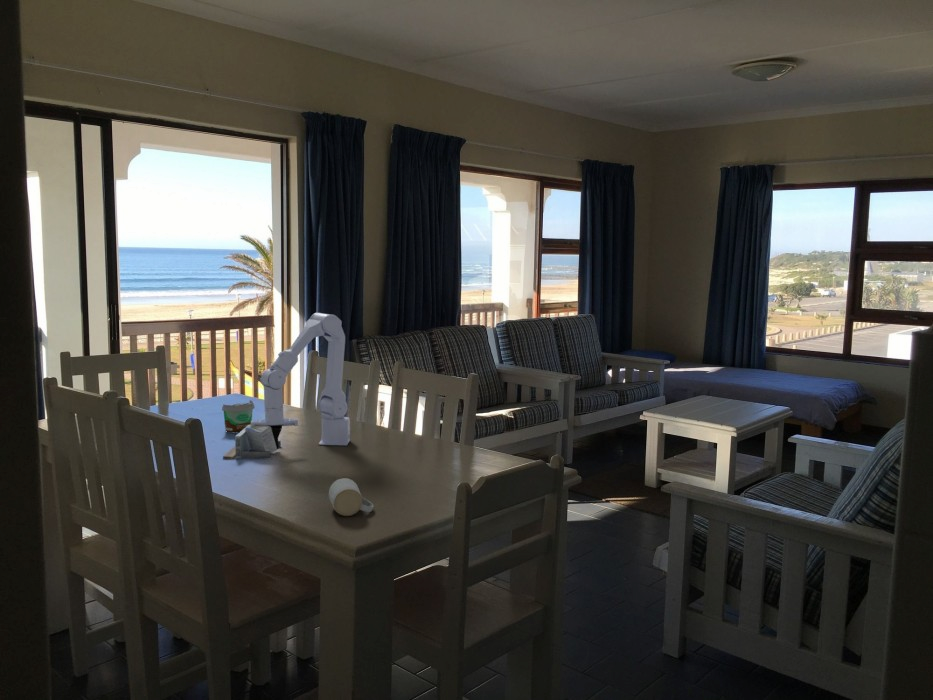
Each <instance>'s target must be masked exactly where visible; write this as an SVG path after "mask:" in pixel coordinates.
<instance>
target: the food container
mask: <svg viewBox="0 0 933 700" xmlns="http://www.w3.org/2000/svg"><path fill="white" fill-rule="evenodd" d="M254 409H255V404H254V401H253V400H251V399H249V402H247V403H246V402H245V403H235V404H229V405H228V404H222V408H221V411H223V417H224V428H225V432H226V431H227V432H226V433H228V432H241V431H242V430H243V429H244V428H246V427H247V426H248V425H251V421H253V410H254Z"/></svg>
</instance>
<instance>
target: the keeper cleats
mask: <svg viewBox="0 0 933 700" xmlns="http://www.w3.org/2000/svg"><path fill="white" fill-rule="evenodd" d="M278 443H279V448H281V447H280V446H281V444H282V441H281V440H278ZM265 458H270V459H272V454H271V451H251V450H249V451H241V458H240V459H265Z"/></svg>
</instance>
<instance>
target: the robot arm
mask: <svg viewBox="0 0 933 700" xmlns="http://www.w3.org/2000/svg"><path fill="white" fill-rule="evenodd" d="M342 321H343V320H341V319H340V318H339V317H338V316H337V315H335V314H329V313H322V312H315V313H313V314H312V315H311V316H310V317H309V319H308V320H307V321H305V324H304V325H305V326H304V327H303V329H302V330H301V332H300V333H299V334H298V336H297V337H296V339H295V340H294V342H293V343H292V345H291V346H290V348H288V349H283V350H282V352H281V351H280V352H279V353H278V354H277V355H278V356H277V358H276V359H275V361H274V362H273V363H272V364H270V365H269V368H267V369H265V370H264V371H263V372H262V373H261V377H260V378H259V382H260V384H261V385H262V386H263V398H264V399H263V400H264V419H259V420H252V421H251V427H253V426H255V425H266V426H270V427H271V429H272V433H273V436H274V440H275V444H276V447H277V450H279V448H280V447H279V443H278V441H279V437H280V434H281V432H282V429H283V427H293V426H294V427H298V426H299V419H298V418H284V399H283V397H284V396H283V395H284V394H283V386H285V384H286V381H287V376H288V375H289V374H290V372H291V371H292V370H293V368H294V367H295V366H296V365H297V363H299V362H298V361H299V357H298V356H299V355H300V354H301V352H302V351H303V350H304V349H305V348H306V347H307V346H308V345H309V344H310V342H312V340H314V338H318V337H323V338H325V340H326V341H327V342H328V343H327V344H328V345H327V358H326V373H325V387H324V389H323V390H321V393H320V398H319V400H318V402H317V403H318V404H317V407H318V411H320V413H321V439H320V441H319V442H318V445H320V446H348V444H349V443H350V441H351V418H350V417H349V416H348V417H347V416H345V415H346V414H347V412H348V403H347V396H346V394H345V392H344V390H343V378H344V377H343V375H344V374H343V373H344V360H345V349H346V348H345V346H346V334H345V332H344V329H343V327H342Z"/></svg>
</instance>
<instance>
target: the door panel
mask: <svg viewBox="0 0 933 700" xmlns="http://www.w3.org/2000/svg"><path fill="white" fill-rule="evenodd" d="M248 426H250V425H248ZM248 426H247V427H248ZM247 427H246V428H247ZM234 439H235V440H234V441H235V444H234V446H235V451H236V457H235V459H242V458H241V451H248V450H249V449H250V445H249V442H248V438H247V435H246V431H245V428H244V429H243V430H242V431H241V432H240V433H236V435H235V438H234ZM250 450H251V449H250ZM250 450H249V451H250Z"/></svg>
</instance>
